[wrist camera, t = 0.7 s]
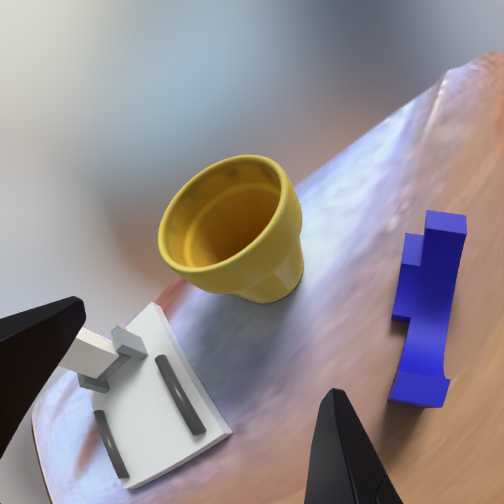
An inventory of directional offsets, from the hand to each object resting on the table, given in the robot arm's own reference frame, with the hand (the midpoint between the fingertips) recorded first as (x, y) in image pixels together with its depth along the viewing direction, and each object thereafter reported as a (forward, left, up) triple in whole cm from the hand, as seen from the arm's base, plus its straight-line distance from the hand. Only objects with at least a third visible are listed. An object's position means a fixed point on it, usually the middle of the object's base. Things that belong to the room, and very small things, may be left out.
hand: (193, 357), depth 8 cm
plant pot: (+10, +6, -14) cm, 18 cm away
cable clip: (+6, -8, -14) cm, 17 cm away
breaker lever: (-3, +19, -11) cm, 22 cm away
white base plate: (-5, +15, -14) cm, 21 cm away
